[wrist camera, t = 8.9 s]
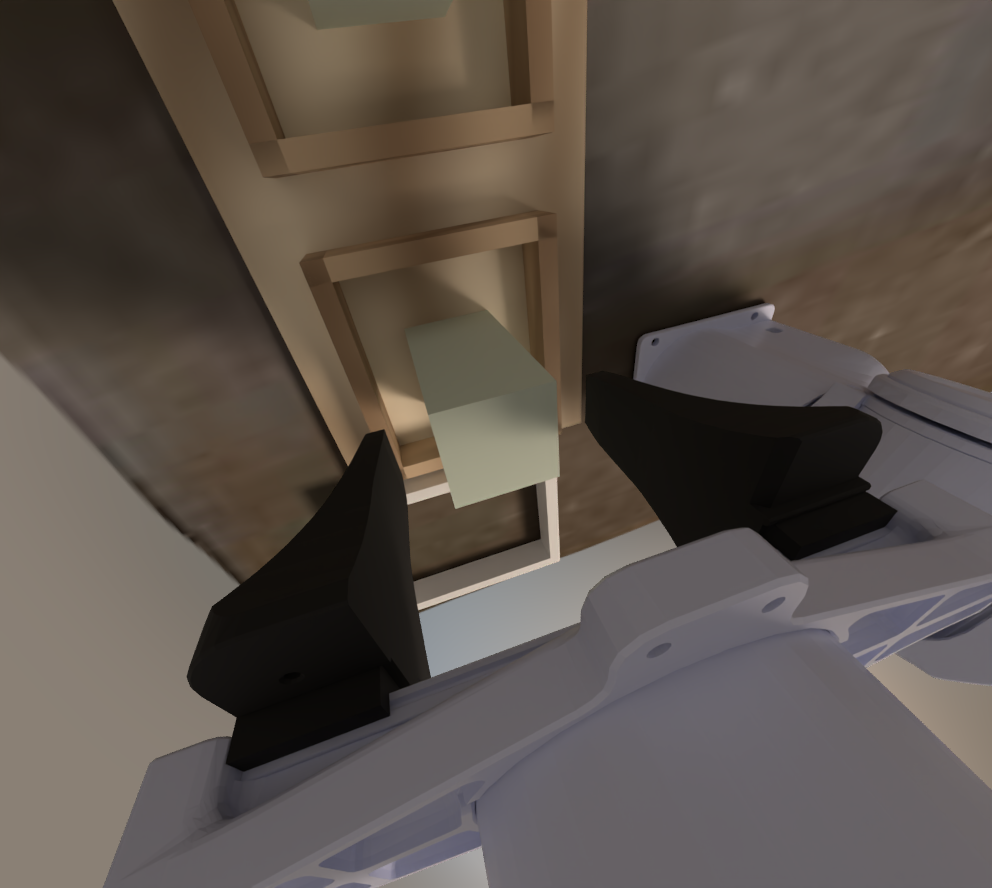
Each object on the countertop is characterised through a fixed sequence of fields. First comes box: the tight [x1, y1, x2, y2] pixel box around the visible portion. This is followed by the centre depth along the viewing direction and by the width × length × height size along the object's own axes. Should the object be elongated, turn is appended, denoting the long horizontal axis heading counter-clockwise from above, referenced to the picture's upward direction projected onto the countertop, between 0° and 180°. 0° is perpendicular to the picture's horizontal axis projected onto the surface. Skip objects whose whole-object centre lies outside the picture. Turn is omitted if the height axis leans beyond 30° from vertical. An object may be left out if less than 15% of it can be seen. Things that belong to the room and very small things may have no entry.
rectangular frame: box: [403, 468, 560, 610], centre depth 26 cm, size 14×12×2 cm
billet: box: [404, 310, 559, 509], centre depth 15 cm, size 4×4×8 cm
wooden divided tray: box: [112, 0, 587, 480], centre depth 14 cm, size 14×26×3 cm, turn 7°
